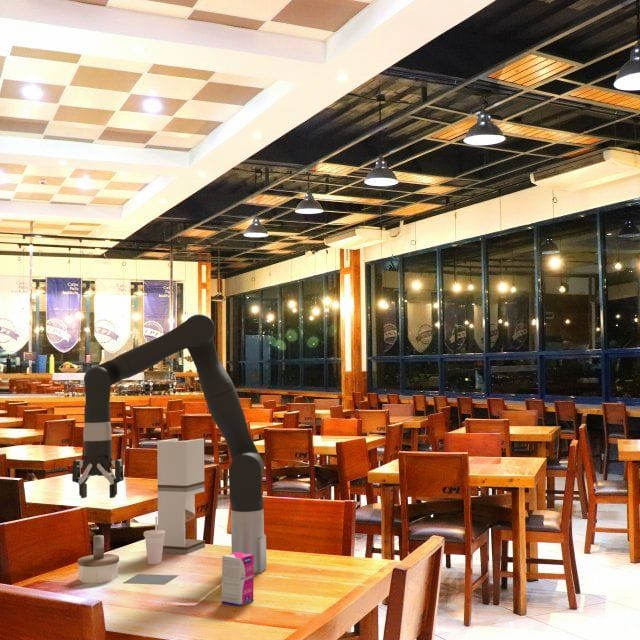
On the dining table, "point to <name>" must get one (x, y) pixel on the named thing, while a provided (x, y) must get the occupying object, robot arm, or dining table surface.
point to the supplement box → (237, 578)
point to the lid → (98, 555)
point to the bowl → (98, 573)
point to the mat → (151, 579)
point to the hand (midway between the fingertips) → (98, 497)
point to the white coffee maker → (179, 491)
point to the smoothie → (154, 544)
